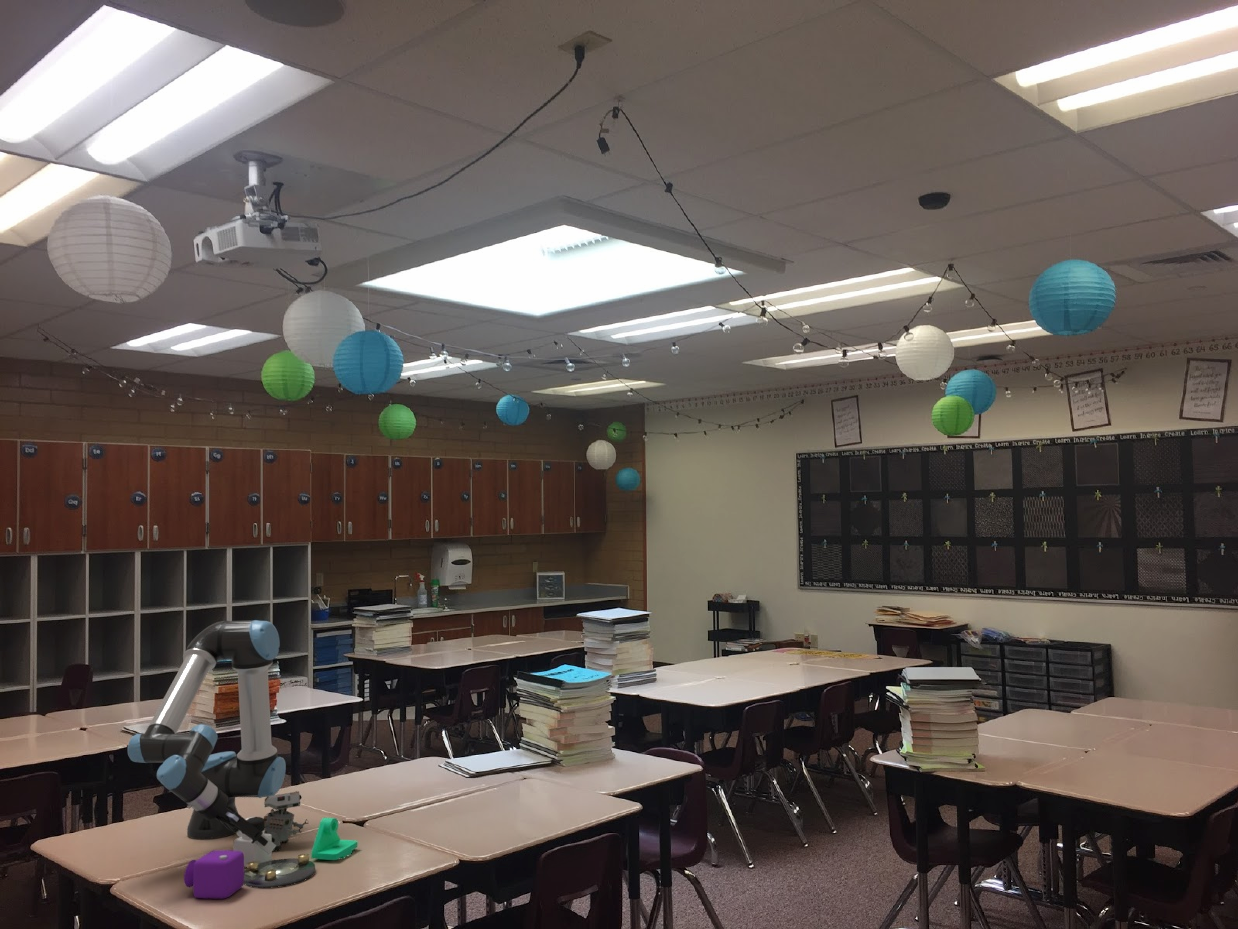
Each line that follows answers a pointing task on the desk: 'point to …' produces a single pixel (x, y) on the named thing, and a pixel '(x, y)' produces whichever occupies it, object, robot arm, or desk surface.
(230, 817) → the robot arm
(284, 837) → the figurine
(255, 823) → the medicine bottle
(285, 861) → the plate
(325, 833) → the camera mount
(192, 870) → the toy camera
